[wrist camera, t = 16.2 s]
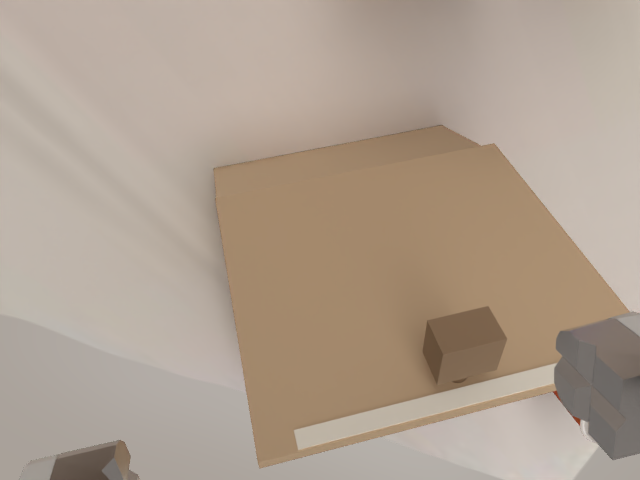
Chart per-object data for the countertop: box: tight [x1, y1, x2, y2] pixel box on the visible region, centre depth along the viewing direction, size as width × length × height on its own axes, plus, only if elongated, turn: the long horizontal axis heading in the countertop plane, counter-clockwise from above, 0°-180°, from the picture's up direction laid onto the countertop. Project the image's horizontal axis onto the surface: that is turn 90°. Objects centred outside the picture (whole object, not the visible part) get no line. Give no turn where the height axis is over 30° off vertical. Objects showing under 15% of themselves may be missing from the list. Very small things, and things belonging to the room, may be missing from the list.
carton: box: [214, 125, 481, 198], centre depth 51 cm, size 22×20×10 cm
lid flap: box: [215, 144, 630, 468], centre depth 33 cm, size 22×20×5 cm
